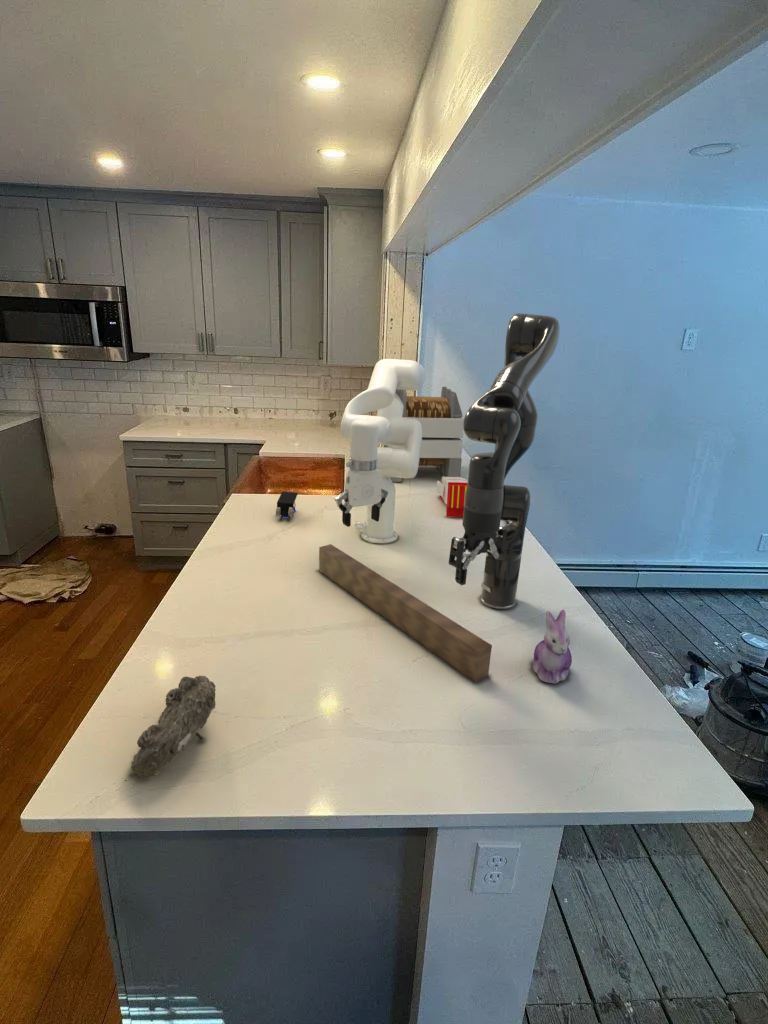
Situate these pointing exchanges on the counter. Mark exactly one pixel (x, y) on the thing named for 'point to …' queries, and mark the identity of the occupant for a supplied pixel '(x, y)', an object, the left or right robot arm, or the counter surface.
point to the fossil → (175, 725)
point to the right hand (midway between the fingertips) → (475, 578)
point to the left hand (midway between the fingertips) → (361, 522)
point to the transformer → (436, 430)
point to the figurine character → (286, 505)
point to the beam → (408, 613)
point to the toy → (453, 494)
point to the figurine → (553, 651)
